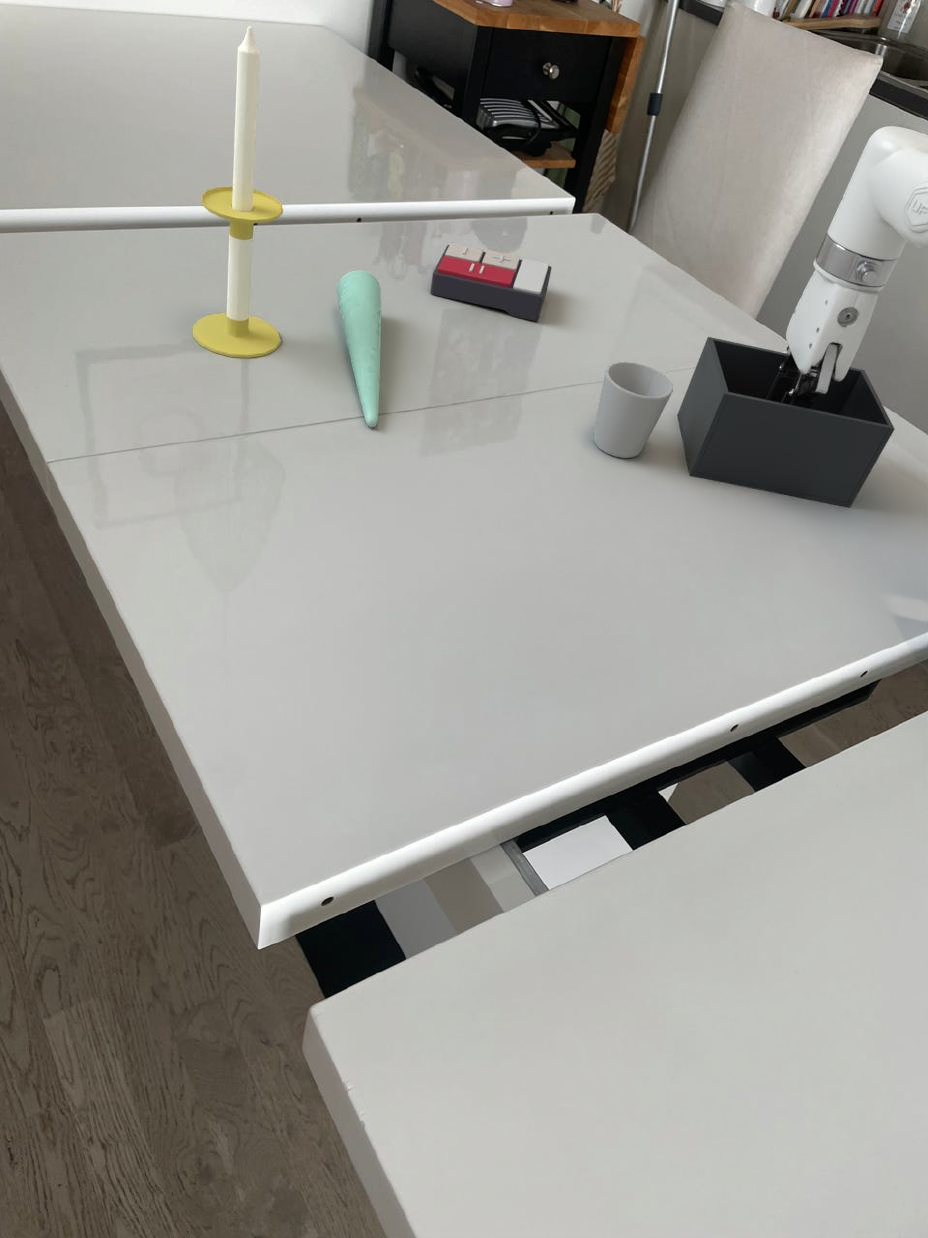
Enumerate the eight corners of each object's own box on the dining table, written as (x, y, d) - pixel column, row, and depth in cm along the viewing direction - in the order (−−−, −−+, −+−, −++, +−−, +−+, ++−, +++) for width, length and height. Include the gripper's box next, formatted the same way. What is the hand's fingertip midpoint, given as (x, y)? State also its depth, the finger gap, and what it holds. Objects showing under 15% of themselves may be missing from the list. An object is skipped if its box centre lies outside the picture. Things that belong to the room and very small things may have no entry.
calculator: (448, 238, 137) (553, 260, 137) (444, 267, 140) (547, 289, 140) (433, 267, 129) (544, 291, 129) (429, 298, 132) (538, 322, 132)
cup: (589, 458, 109) (611, 391, 103) (578, 411, 116) (598, 346, 111) (654, 468, 110) (679, 402, 105) (639, 420, 118) (662, 356, 112)
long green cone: (352, 382, 101) (339, 267, 120) (346, 427, 104) (334, 309, 123) (404, 387, 102) (383, 272, 121) (396, 432, 106) (377, 314, 125)
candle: (185, 349, 109) (186, 21, 88) (199, 308, 117) (204, -4, 95) (275, 363, 111) (299, 44, 89) (284, 323, 118) (308, 18, 97)
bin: (825, 445, 122) (864, 369, 115) (850, 507, 112) (895, 428, 105) (676, 415, 121) (707, 336, 113) (689, 475, 111) (724, 393, 104)
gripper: (912, 304, 94) (828, 462, 107) (868, 238, 107) (798, 386, 119) (838, 288, 94) (762, 448, 106) (803, 223, 106) (739, 374, 118)
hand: (782, 414), depth 112 cm, fingers open, 3 cm apart
